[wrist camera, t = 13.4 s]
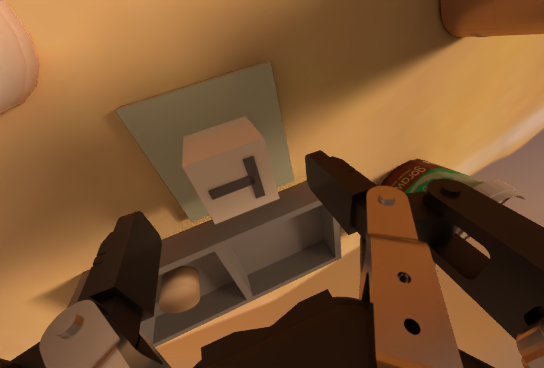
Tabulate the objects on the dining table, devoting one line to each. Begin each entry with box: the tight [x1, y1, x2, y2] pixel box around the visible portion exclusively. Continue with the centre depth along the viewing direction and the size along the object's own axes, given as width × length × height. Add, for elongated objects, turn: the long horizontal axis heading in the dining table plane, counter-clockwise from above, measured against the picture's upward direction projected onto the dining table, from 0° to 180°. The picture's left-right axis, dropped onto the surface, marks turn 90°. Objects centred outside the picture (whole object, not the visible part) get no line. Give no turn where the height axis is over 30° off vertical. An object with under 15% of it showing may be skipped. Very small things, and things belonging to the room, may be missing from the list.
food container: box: [381, 159, 525, 271], centre depth 25 cm, size 12×6×10 cm, turn 144°
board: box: [115, 61, 294, 222], centre depth 18 cm, size 11×11×1 cm
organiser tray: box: [68, 181, 341, 347], centre depth 24 cm, size 12×26×4 cm, turn 106°
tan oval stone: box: [159, 266, 200, 313], centre depth 23 cm, size 4×4×3 cm
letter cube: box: [182, 116, 280, 224], centre depth 16 cm, size 5×5×5 cm
